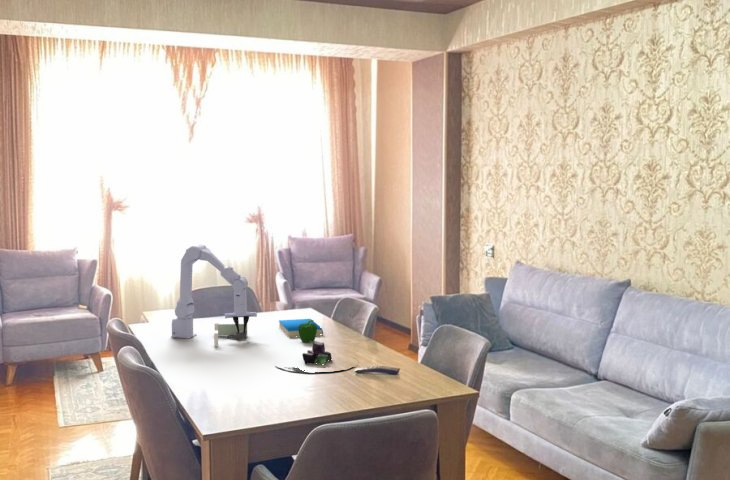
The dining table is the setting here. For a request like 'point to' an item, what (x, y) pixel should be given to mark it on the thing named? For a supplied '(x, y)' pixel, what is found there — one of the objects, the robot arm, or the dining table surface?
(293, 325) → the book
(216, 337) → the rectangular block
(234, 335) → the grey stepped block
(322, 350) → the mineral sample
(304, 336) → the bell pepper
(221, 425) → the dining table surface
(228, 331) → the door
